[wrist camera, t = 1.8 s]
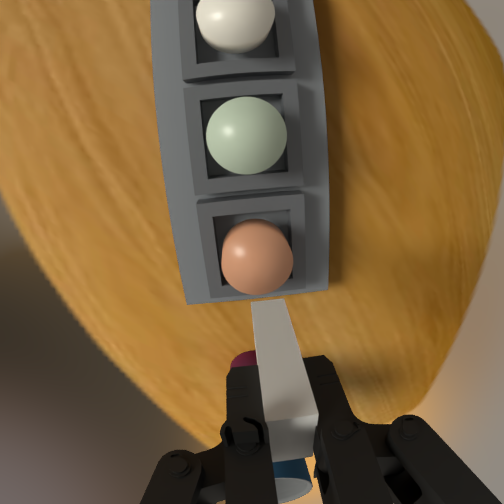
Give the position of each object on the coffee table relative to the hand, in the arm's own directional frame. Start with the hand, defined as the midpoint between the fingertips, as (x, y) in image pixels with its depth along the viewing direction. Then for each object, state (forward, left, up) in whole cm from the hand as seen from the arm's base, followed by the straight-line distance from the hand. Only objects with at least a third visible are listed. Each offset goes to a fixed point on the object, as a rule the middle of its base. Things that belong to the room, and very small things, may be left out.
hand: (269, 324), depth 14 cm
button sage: (-8, 0, -8) cm, 12 cm away
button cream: (-16, 0, -9) cm, 18 cm away
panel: (-8, 0, -12) cm, 15 cm away
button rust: (0, 0, -8) cm, 8 cm away
